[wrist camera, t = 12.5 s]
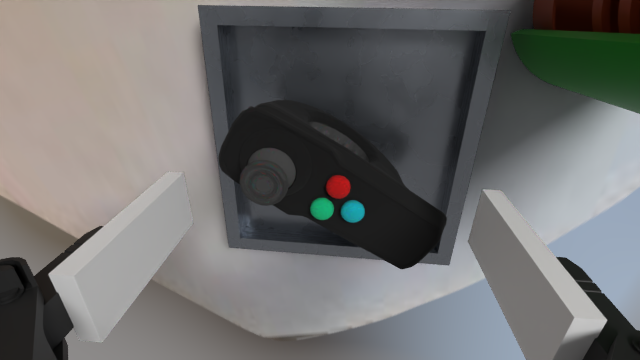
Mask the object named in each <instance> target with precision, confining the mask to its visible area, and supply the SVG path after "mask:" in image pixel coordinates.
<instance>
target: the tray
mask: <svg viewBox="0 0 640 360" xmlns="http://www.w3.org/2000/svg"><path fill="white" fill-rule="evenodd" d="M198 11H199V19H200V26H201V34H202V42H203V50H204V57H205V65H206V73H207V81H208V89H209V96H210V104H211V112H212V120H213V127H214V135H215V143H216V151H217V159H218V157H219V153H220V149H221V146H222V144H223V142H224V140H225V138H226V136H227V134H228V131H229V129H230V127H231V125H232V123H233V122H234V121H235V119H236V118H237V117H238V116H239V114H240V113H241V112H242V110H246V109H248V107H249V106H253V107H255V106H257V105H259V104H261V103H266V102H271V101H276V100H292V101H297V102H300V103H304V104H307V105H310V106H313V107H316V108H318V109H321V110H323V111H325V112H327V113H329V114H331V115H332V116H334V117H336V118H338V119H339V120H341V121H343V122H345V123H346V124H347V125H349V126H350V127H352V128H353V129H355V130H356V131H357V132H359V133H360V134H361V135H363V136H364V137H365V138H366V139H367V140H369V141H370V142H371V143H372V144H373V145H374V146H376V147H377V148H378V150H379V151H380V152H381V153H382V154H383V155H384V156H385V157H386V158H387V159H388V160H389V161H390V163H391V164H392V165H393V166H394V167H395V169H396V170H397V171H398V173H399V175H400V177H401V180H402V182H403V183H404V185H405V186H406V187H407V188H408V189H409V190H410V191H412V192H413V193H415V194H416V195H418V196H419V197H421V198H422V199H424V200H425V201H427V202H428V203H430V204H431V205H433V206H434V207H436V208H437V209H439V210H440V211H442V212H443V213H445V215H446V217H447V222H446V226H445V228H444V230H443V233H442V235H441V238H440V241H439V242H438V244H437V245H436V246H435V247H434V248H433V249H432V250H431V251H430V252H429V253H428V254H427V255H426V256H425V257H424V258H423V259H422V260H421V261H420V262H419V263H427V264H439V265H449V264H450V260H451V256H452V252H453V248H454V243H455V239H456V235H457V231H458V227H459V223H460V219H461V214H462V210H463V206H464V202H465V198H466V194H467V189H468V185H469V181H470V177H471V173H472V169H473V165H474V160H475V156H476V152H477V148H478V144H479V140H480V135H481V131H482V127H483V123H484V119H485V115H486V111H487V106H488V102H489V98H490V94H491V90H492V86H493V81H494V77H495V73H496V69H497V65H498V61H499V56H500V52H501V48H502V44H503V40H504V36H505V32H506V27H507V23H508V19H509V15H510V11H511V10H457V9H396V8H334V7H273V6H211V5H198ZM218 166H219V159H218ZM219 174H220V182H221V190H222V197H223V205H224V213H225V221H226V229H227V236H228V244H229V247H230V248H242V249H254V250H267V251H279V252H291V253H304V254H316V255H328V256H341V257H353V258H365V259H377V260H383V259H381V258H379V257H378V256H376V255H374V254H372V253H370V252H368V251H366V250H365V249H363V248H361V247H359V246H357V245H355V244H354V243H352V242H350V241H348V240H346V239H344V238H343V237H341V236H339V235H337V234H335V233H333V232H332V231H330V230H328V229H326V228H324V227H323V226H321V225H319V224H317V223H315V222H313V221H312V220H310V219H308V218H306V217H303V216H296V215H288V214H286V213H285V212H283V211H281V210H280V209H278V208H276V207H275V206H273V205H268V206H262V205H259V204H256V203H254V202H252V201H251V200H249V199H248V198H247V197H246V196H245V195H244V194H243V192H242V189H241V186H240V184H238V183H237V182H235V181H234V180H232V179H231V178H230V177H229V176H227V175H226V174H225V173H224V172H222V170H221V168H220V166H219Z"/></svg>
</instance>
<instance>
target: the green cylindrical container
mask: <svg viewBox="0 0 640 360" xmlns="http://www.w3.org/2000/svg"><path fill="white" fill-rule="evenodd" d="M533 26H534V29H521V30H518V31H516V32H513V33H511V37H512V41H513V45H514V47H515V50H516V52H517V54H518V56H519V58H520V60H521V61H522V63H523V64H524V65H525V66H526V68H527V69H528V70H529V71H530V72H532V73H533V74H534V75H535V76H537V77H538V78H540V79H541V80H543V81H545V82H547V83H549V84H552V85H555V86H558V87H561V88H564V89H567V90H570V91H573V92H576V93H579V94H582V95H585V96H588V97H591V98H594V99H597V100H600V101H603V102H606V103H609V104H612V105H615V106H618V107H621V108H624V109H627V110H630V111H633V112H636V113H639V114H640V0H534V5H533Z"/></svg>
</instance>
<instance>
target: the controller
mask: <svg viewBox="0 0 640 360" xmlns="http://www.w3.org/2000/svg"><path fill="white" fill-rule="evenodd" d="M218 159H219V166H220V168H221V170H222V172H224V173H225V174H226V175H227V176H229V177H230V178H231V179H232V180H234V181H235V182H237V183H238V184H240V186H241V189H242V192H243V194H244V195H245V196H246V197H247V198H248V199H249V200H251V201H252V202H254V203H256V204H259V205H262V206H268V205H273V206H275V207H276V208H278V209H280V210H281V211H283V212H285V213H286V214H288V215H296V216H303V217H306V218H308V219H310V220H312V221H313V222H315V223H317V224H319V225H321V226H323V227H324V228H326V229H328V230H330V231H332V232H333V233H335V234H337V235H339V236H341V237H343V238H344V239H346V240H348V241H350V242H352V243H354V244H355V245H357V246H359V247H361V248H363V249H365V250H366V251H368V252H370V253H372V254H374V255H376V256H378V257H379V258H381V259H383V260H385V261H387V262H389V263H391V264H392V265H394V266H396V267H398V268H400V269H405V268H409V267H412V266H414V265H415V264H417V263H419V262H420V261H421V260H422V259H423V258H424V257H425V256H426V255H427V254H428V253H429V252H430V251H431V250H432V249H433V248H434V247H435V246H436V245H437V244H438V242H439V241H440V238H441V235H442V233H443V230H444V228H445V226H446V222H447V217H446V215H445V213H443V212H442V211H440V210H439V209H437V208H436V207H434V206H433V205H431V204H430V203H428V202H427V201H425V200H424V199H422V198H421V197H419V196H418V195H416V194H415V193H413V192H412V191H410V190H409V189H408V188H407V187H406V186H405V185H404V183H403V182H402V180H401V177H400V175H399V173H398V171H397V170H396V169H395V167H394V166H393V165H392V164H391V163H390V161H389V160H388V159H387V158H386V157H385V156H384V155H383V154H382V153H381V152H380V151H379V150H378V148H377V147H376V146H374V145H373V144H372V143H371V142H370V141H369V140H367V139H366V138H365V137H364V136H363V135H361V134H360V133H359V132H357V131H356V130H355V129H353V128H352V127H350V126H349V125H347V124H346V123H345V122H343V121H341V120H339V119H338V118H336V117H334V116H332V115H331V114H329V113H327V112H325V111H323V110H321V109H318V108H316V107H313V106H310V105H307V104H304V103H300V102H297V101H292V100H276V101H271V102H266V103H261V104H259V105H257V106H255V107H253V106H249V107H248V109H246V110H242V112H241V113H240V114H239V116H238V117H237V118H236V119H235V121H234V122H233V123H232V125H231V127H230V129H229V131H228V134H227V136H226V138H225V140H224V142H223V144H222V146H221V149H220V153H219V157H218Z"/></svg>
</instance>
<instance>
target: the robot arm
mask: <svg viewBox="0 0 640 360" xmlns="http://www.w3.org/2000/svg"><path fill="white" fill-rule="evenodd" d="M192 224H193V218H192V213H191V207H190V202H189V197H188V192H187V186H186V181H185V176H184V172H167V173H165V174H164V175H163V176H162V177H161V178H160V179H158V180H157V181H156V182H155V183H154V184H153V185H151V186H150V187H149V188H148V189H147V190H146V191H144V192H143V193H142V194H141V195H140V196H139V197H137V198H136V199H135V200H134V201H133V202H132V203H130V204H129V205H128V206H127V207H126V208H125V209H123V210H122V211H121V212H120V213H119V214H118V215H116V216H115V217H114V218H113V219H112V220H111V221H109V222H108V223H107V224H106V225H105V226H99V227H97V228H96V229H94V230H92V231H90V232H88V233H86V234H84V235H83V236H82V237H81V238H80V239H78V240H77V241H76V242H75V243H74V245H71V246H70V247H69V248H67V249H66V250H65V252H64V253H61V254H60V255H59V256H58V257H57V258H55V259H54V260H53V261H52V262H51V263H49V264H48V265H47V266H46V267H45V268H43V269H42V270H41V271H40V272H39V273H37V274H36V275H35V276H33V274H32V272H31V270H30V268H29V266H28V264H27V262H26V260H25V259H22V258H20V257H16V258H14V257H12V258H6V259H1V260H0V360H68V345H67V342H66V340H65V338H64V337H65V336H66V335H67V334H68V333H69V332H70V331H71V330H72V328H74V330H75V332H76V334H77V336H78V339H79V341H89V342H100V343H103V341H104V340H105V339H106V337H107V336H108V335H109V333H110V332H111V331H112V329H113V328H114V327H115V325H116V324H117V323H118V321H119V320H120V319H121V318H122V316H123V315H124V314H125V312H126V311H127V310H128V308H129V307H130V306H131V304H132V303H133V302H134V300H135V299H136V298H137V297H138V295H139V294H140V292H141V291H142V290H143V289H144V287H145V286H146V285H147V283H148V282H149V281H150V279H151V278H152V277H153V276H154V274H155V273H156V272H157V270H158V269H159V268H160V266H161V265H162V264H163V262H164V261H165V260H166V258H167V257H168V256H169V255H170V253H171V252H172V251H173V249H174V248H175V247H176V245H177V244H178V243H179V241H180V240H181V239H182V237H183V236H184V235H185V233H186V232H187V231H188V230H189V228H190V227H191V226H192ZM468 243H469V245H470V247H471V249H472V251H473V253H474V255H475V257H476V259H477V261H478V263H479V265H480V267H481V269H482V271H483V273H484V275H485V277H486V279H487V281H488V283H489V285H490V287H491V289H492V291H493V293H494V295H495V297H496V299H497V301H498V303H499V305H500V307H501V309H502V311H503V314H504V315H505V318H506V319H507V322H508V324H509V326H510V327H511V329H512V331H513V334H514V336H515V338H516V340H517V342H518V344H519V346H520V348H521V350H522V352H523V354H524V356H525V358H526V360H640V331H638V330H636V329H635V328H634V327H633V326H632V325H631V324H630V323H629V322H628V321H627V319H626V318H625V317H624V316H623V315H622V314H621V313H620V311H619V310H618V309H617V308H616V307H615V306H614V305H613V303H612V302H611V301H610V300H609V299H608V298H607V297H606V296H605V294H603V293H601V290H600V289H599V288H598V286H597V285H596V284H595V283H592V280H591V279H590V278H589V277H588V275H587V274H586V273H585V272H584V271H583V270H582V269H581V268H580V267H579V266H577V265H576V264H574V263H573V262H571V261H570V260H568V259H567V258H563V257H555V256H554V255H553V253H552V252H551V251H550V250H549V248H548V247H547V246H546V245H545V243H544V242H543V241H542V240H541V239H540V237H539V236H538V235H537V234H536V232H535V231H534V230H533V229H532V228H531V226H530V225H529V224H528V223H527V221H526V220H525V219H524V218H523V217H522V215H521V214H520V213H519V212H518V210H517V209H516V208H515V207H514V206H513V204H512V203H511V202H510V201H509V199H508V198H507V197H506V196H505V195H504V193H503V192H502V191H501V190H487V189H482V192H481V196H480V199H479V203H478V207H477V210H476V214H475V218H474V221H473V225H472V229H471V233H470V236H469V240H468Z"/></svg>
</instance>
